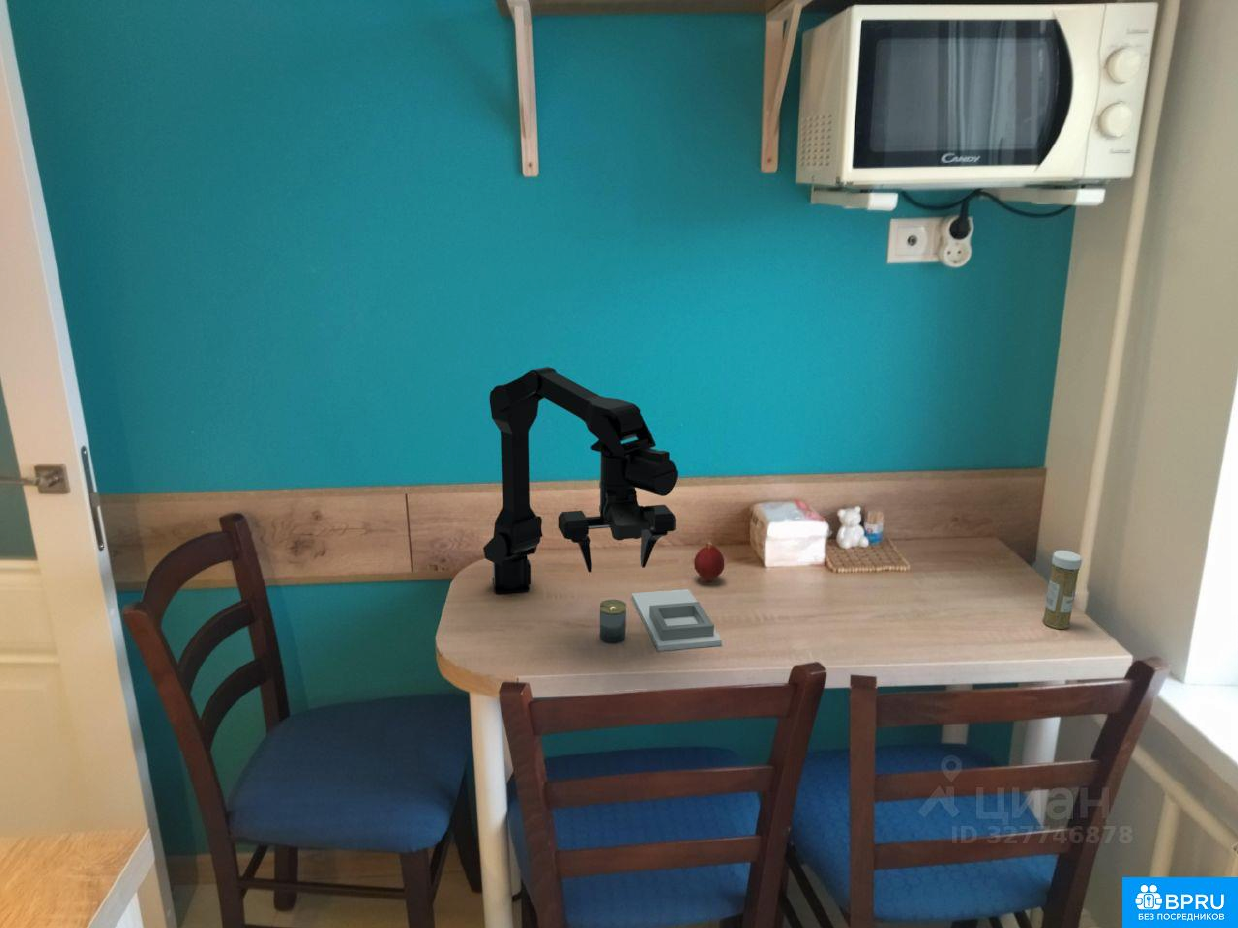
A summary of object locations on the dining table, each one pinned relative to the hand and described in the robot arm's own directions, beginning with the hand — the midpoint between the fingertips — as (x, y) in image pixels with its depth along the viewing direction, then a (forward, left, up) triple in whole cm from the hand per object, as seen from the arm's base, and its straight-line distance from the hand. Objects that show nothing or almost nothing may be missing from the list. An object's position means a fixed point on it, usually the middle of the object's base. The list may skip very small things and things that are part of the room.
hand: (616, 569), depth 154 cm
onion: (+22, +18, -12) cm, 31 cm away
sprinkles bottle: (+78, -10, -12) cm, 80 cm away
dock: (+11, +3, -12) cm, 17 cm away
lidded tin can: (-1, -1, -12) cm, 12 cm away
